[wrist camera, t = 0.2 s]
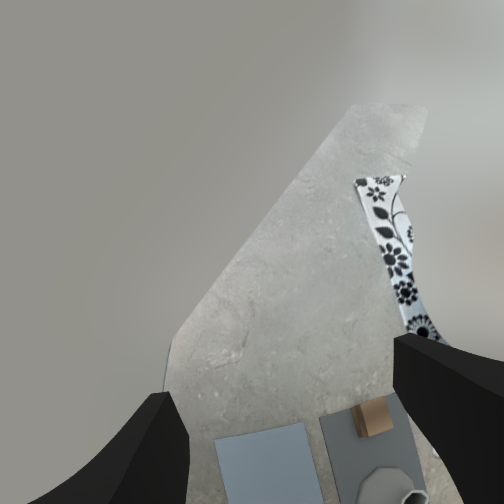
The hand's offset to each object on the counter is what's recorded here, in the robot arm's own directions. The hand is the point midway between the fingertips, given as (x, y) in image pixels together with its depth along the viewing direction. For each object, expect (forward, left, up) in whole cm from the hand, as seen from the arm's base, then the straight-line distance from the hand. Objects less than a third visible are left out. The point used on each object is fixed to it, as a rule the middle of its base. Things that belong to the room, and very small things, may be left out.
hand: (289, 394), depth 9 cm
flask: (-13, -10, -31) cm, 35 cm away
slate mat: (-9, +3, -31) cm, 32 cm away
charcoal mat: (-9, -10, -31) cm, 34 cm away
